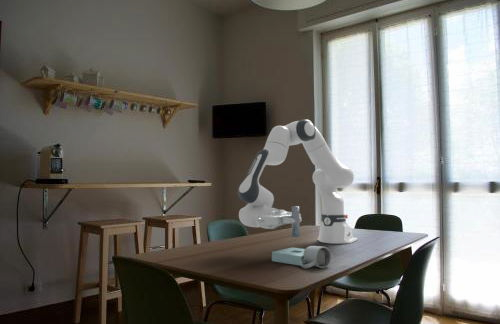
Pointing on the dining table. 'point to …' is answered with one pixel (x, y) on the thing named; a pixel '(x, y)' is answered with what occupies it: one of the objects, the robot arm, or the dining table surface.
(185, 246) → the dining table surface
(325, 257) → the ceramic mug
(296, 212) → the pin
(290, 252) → the socket block
